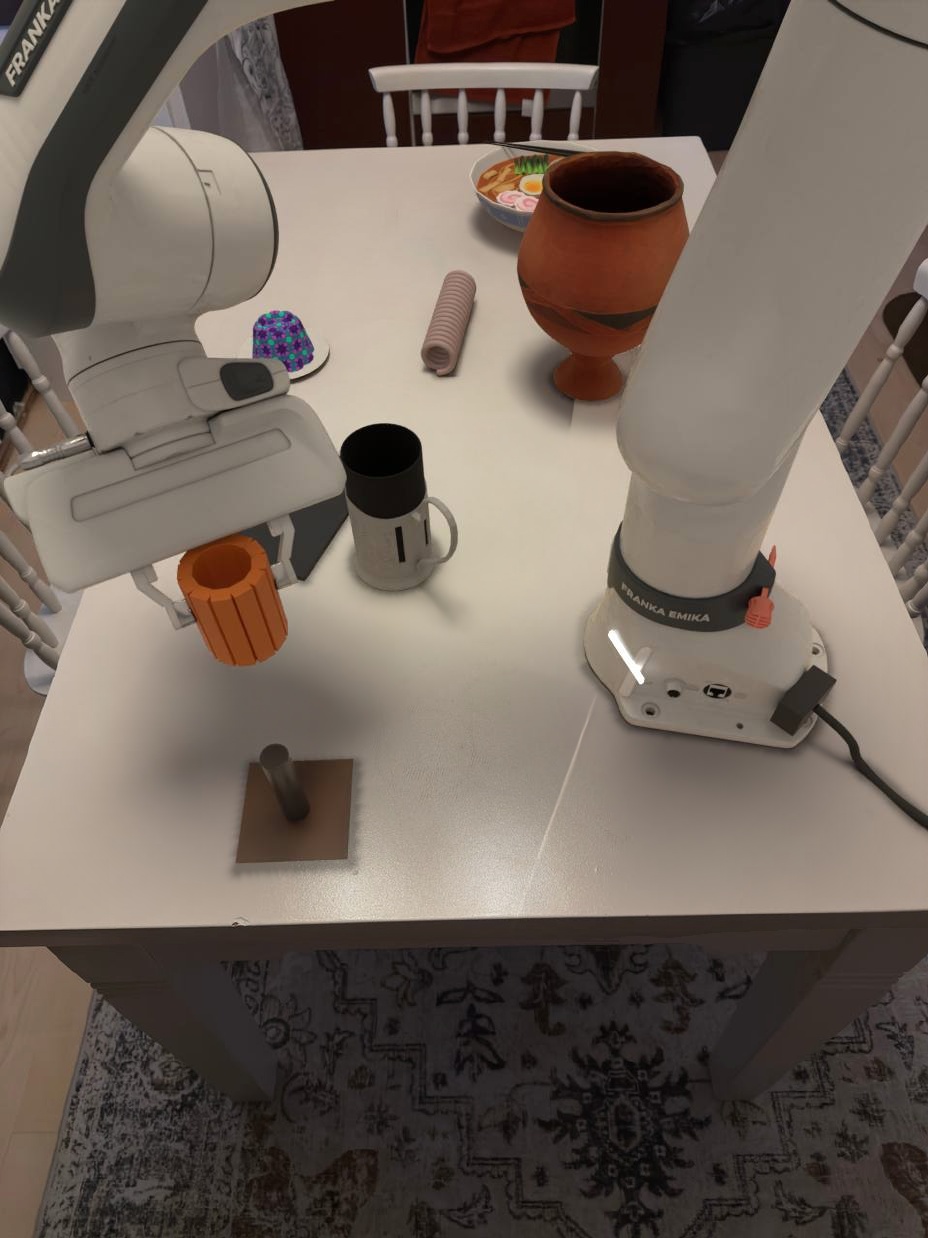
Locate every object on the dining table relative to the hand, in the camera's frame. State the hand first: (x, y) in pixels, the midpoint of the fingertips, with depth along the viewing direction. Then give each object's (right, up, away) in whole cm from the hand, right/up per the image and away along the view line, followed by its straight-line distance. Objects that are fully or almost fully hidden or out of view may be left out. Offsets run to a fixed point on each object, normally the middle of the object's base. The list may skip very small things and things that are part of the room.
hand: (238, 605), depth 57 cm
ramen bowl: (+28, +60, +72) cm, 98 cm away
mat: (-6, +12, +36) cm, 39 cm away
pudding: (-8, +33, +53) cm, 63 cm away
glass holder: (+10, +4, +30) cm, 32 cm away
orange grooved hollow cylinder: (0, -2, +3) cm, 4 cm away
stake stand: (+1, -17, +14) cm, 22 cm away
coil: (+14, +37, +55) cm, 67 cm away
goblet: (+31, +29, +48) cm, 64 cm away
